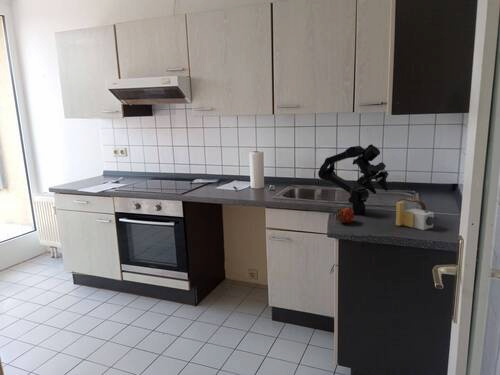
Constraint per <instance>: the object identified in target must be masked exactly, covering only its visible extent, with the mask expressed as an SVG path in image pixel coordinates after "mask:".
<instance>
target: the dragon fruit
mask: <svg viewBox="0 0 500 375" xmlns="http://www.w3.org/2000/svg"><path fill="white" fill-rule="evenodd" d="M355 216H356V215H354V211H353V210H352V209H351V207H349V206H346V207H342V208H339V209H337V210H336V213H335V218H336V220H337V221H339V222H340V223H341V224H343V223H344V224H345V223H347V224H350V223H352V221H353V220H354V218H355Z"/></svg>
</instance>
